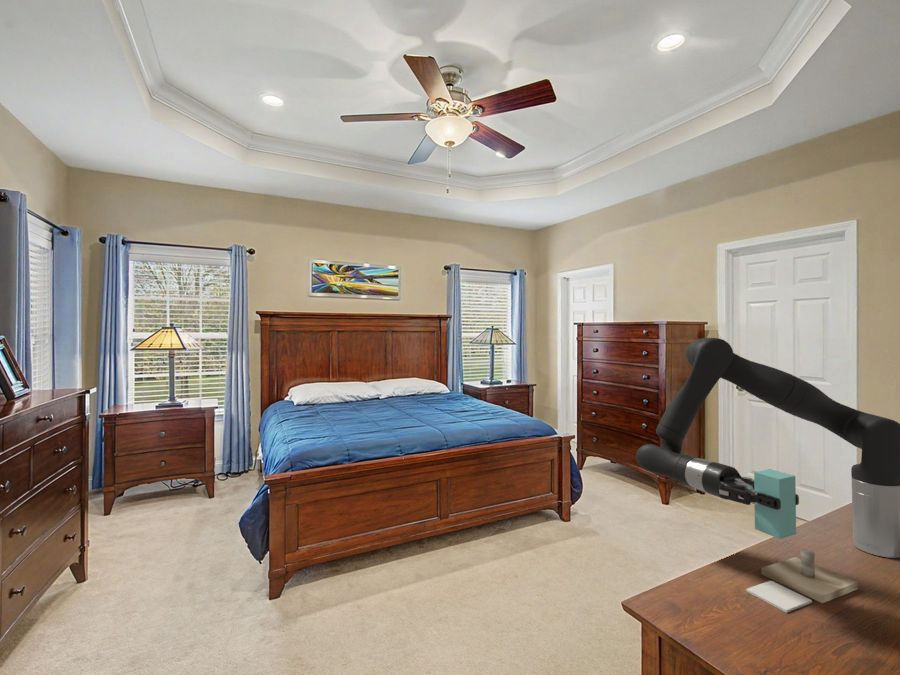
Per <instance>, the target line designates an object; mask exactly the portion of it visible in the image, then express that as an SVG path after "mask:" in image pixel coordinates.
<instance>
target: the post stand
mask: <svg viewBox="0 0 900 675" xmlns="http://www.w3.org/2000/svg"><path fill="white" fill-rule="evenodd" d="M799 554H800V556H799V557H798V556H793V557H790V558H788V559H785V560H781V561H778V562H776V563H775V562H774V563H772V564H769V565H766V566H763V567H761V575H762V576H764V577H766V578H768V579H771V581H773V582H775V583H777V584H780V585H782V586H784V587H786V588H788V589H790V590H792V591H794V592H796V593H798V594H800V595H802V596H805V597H807V598H809V599H811V600H814V601H816V602H819V603H821V604H825V603H828V602H829V601H832V600H834V599H836V598H839V597H842V596H844V595H847V594H850V593H852V592H854V591H857V590H858V587H859V586H858V581H855V580H853V579H851V578H848V577H846V576H843V575H841V574H838V573H836V572H834V571H832V570H828V569H827V568H825V567H821V566H819V565H817V564H815V553H814V551H813V550H809V549H805V548H804V549H800V550H799Z"/></svg>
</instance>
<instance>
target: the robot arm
mask: <svg viewBox="0 0 900 675" xmlns="http://www.w3.org/2000/svg"><path fill="white" fill-rule="evenodd" d="M685 351H686V352H685V354H686V355H685V356H686V358H687V361H688V362H689V364H690V365H691V366H692V368H691V371H690V373H689V374H688V377H687V379H686V381H685V382H684V384H683V386H682V387H681V389H680V390H678V392H677V394H675V396H674V397H673V399H672V400H671V401H670V403H669V404H668V405H667V407H666V408H665V411H664V412H663V415H662V417H661V419H660V421H659V422H658V425H657V426H656V429H655V433H656V435H657V436H658V437H659V438H660V439H661V442H660V446H658V445H655V444H651V443H646V444H644V445H642V446H640V447H639V448H638V449H637V451H636V454H635V456H636V461H637V464H638V465H639V466H640V468H642V469H644V470H645V471H648V472H652V473H654V474H657V475H659V476H662V477H663V476H664V477H668V478H671V479H673V480H675V481H677V482H679V483H681V484H684V485H686V486H687V485H688V486H690V487H693V488H695V489H697V490H698V491H701V492H704V493H707V494H709V495H711V496H715V497H718V498H720V499H722V500H725V501H727V500H728V501H732V502H736V503H739V504H743V505H746V506H750V505H751V503H752V504H754V505H755V504H756V505H758V504H759V503H760V504H761V505H764V506H767V507H770V508H773V509H776V510H778V509H781V501H780V499H779V498H776V497H773V496H770V495H766V494H763V493H760V494H759V492H758V491H755V490H754V478H751V477H748V476H741V474H740V473H739V471H738V470H737V468H735V467H733V466H731V465H726V464H724V463H720V462H716V461H712V460H709V459H705V458H699V457H695V456H692V455H688V454H682V448H683V442H684V439H685V438H686V436H687V434H688V432H689V430H690V428H691V426H692V424H693V422H694V420H695V418H696V416H697V415H698V413H699V410H700V409H701V407H702V405H703V404H704V402H705V401H706V399H707V397H708V396H709V394H710V393H711V391H712V389H713V388H714V387H715V385H716V384H717V383H718V381H720V380H721V379H722V380H725V381H726V382H730V383H731V384H734V385H735V386H737V387H738V388H740V389H742V390H744V391H745V392H747V393H748V394H750V395H752V396H754V397H755V398H758V399H759V400H761V401H762V402H763V401H764V402H765V403H767V404H768V405H771V406H773V407H775V408H777V409H778V410H781V411H782V412H785V413H787V414H790V415H791V416H795V417H797V418H799V419H802V420H805V421H807V422H810V423H813V424H816V425H818V426H821V427H823V428H824V429H826V430H828V431H830V432H831V433H833V435H834V434H835V435H836V436H838V437H840V438H841V439H842V440H845V441H846V442H847V443H848V444H850V445H852V446H854V447H855V448H858V449H860V450H861V458H860V459H861V460H860V462H859V463H857V464H856V463H855V464H853V465H852V466H851V469H850V470H851V471H850V472H851V474H850V475H851V476H850V477H851V479H850V480H851V509H852V511H851V512H852V544H853V546H854V547H855V548H856V549H859V550H860V551H862V552H865V553H867V554H871V555H875V556H878V557H883V558H888V559H890V558H891V559H898V558H900V422H898V421H896V420H894V419H892V418H889V417H888V418H887V417H884V416H880V415H875V414H872V413H867V412H864V411H860V410H858V409H856V408H853V407H850V406H848V405H845V404H842V403H840V402H837V401H836V400H834V399H832V398H831V397H829V395H827V394H826V393H824V392H823V391H822V390H821V389H819V388H818V387H817V386H815V385H813V384H811V382H808V381H806V380H804V379H802V378H800V377H798V376H796V375H793V374H791V373H789V372H786V371H783V370H781V369H778V368H776V367H772V366H769V365H766V364H762V363H759V362H757V361H756V362H755V361H752V360H749V359H747V358H744V357H742V356H740V355H738V354H737V353H736V352H734V349H733V348H732V346H731V344H730V343H728V341H726V340H724V339H722V338H719V337H701V338H698V339H695V340H693V341H692V342H691V343H690V344H689V345H688V346H687V348H686V350H685ZM799 496H800V495H799V494H797V493H796V506H798V505H799V504H800V497H799Z"/></svg>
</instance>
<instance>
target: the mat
mask: <svg viewBox="0 0 900 675" xmlns="http://www.w3.org/2000/svg"><path fill="white" fill-rule="evenodd" d="M745 592H746V593H748V594H750V595H752V596H754V597H756V598H757V599H759V600H761V601H763V602H765V603H767V604H769V605H771V606H772V607H774V608H777V609H779V610H780V611H782V612H784V613H786V614H787V613H791V612H793V611H794V610H797V609H800V608H802V607H805V606H808V605H810V604H812V603H813V599H812V598H809V597H807V596H805V595H803V594H801V593H799V592H797V591H795V590H793V589H791V588H789V587H787V586H785V585H783V584H780V583H778V582H776V581H774V580H768V581H765V582H763V583H759V584H757V585H754V586H750V587H748V588H746V589H745Z"/></svg>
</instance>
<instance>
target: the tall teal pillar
mask: <svg viewBox="0 0 900 675" xmlns="http://www.w3.org/2000/svg"><path fill="white" fill-rule="evenodd" d="M753 474H754V475H753V480H754V490H755V491H758V492H759V494H760V493H763V494H766V495H770V496H773V497H776V498H779V499H780V501H781V509H778V510H776V509H773V508H770V507H767V506H764V505H761V504H760V503H759V504H758V505H756V504H754V530H757V531H759V532H762V533H764V534H766V535H770V536H772V537H774V538H776V539H779V540H782V539H785V538H788V537H793V536H794V535H797V505H796V494H797V493H796V488H797V486H796V475H794V474H790V473H786V472H782V471H778V470H775V469H765V470H759V471H754V473H753Z"/></svg>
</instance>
